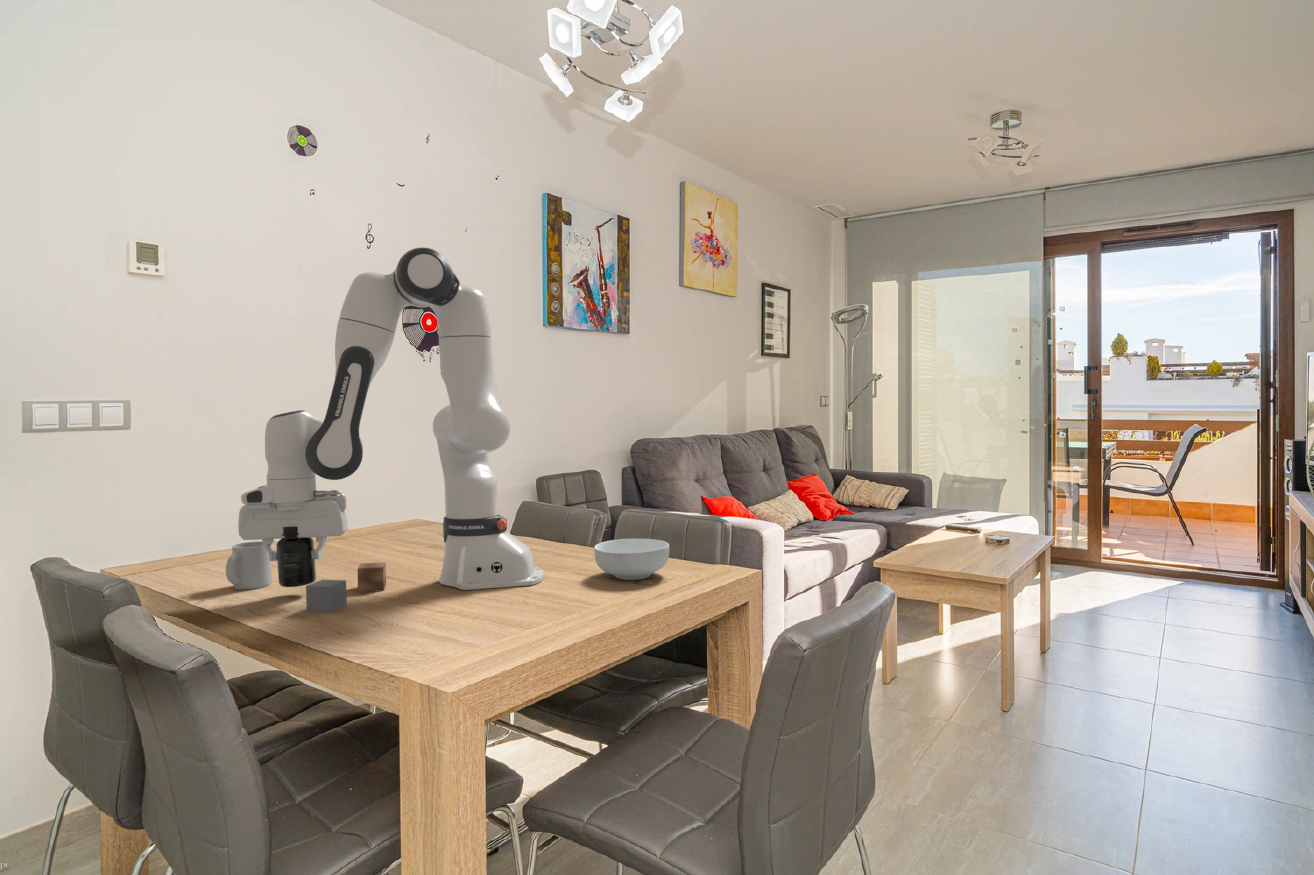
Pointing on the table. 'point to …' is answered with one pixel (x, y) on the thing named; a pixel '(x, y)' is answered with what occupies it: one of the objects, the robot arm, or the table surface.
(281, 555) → the supplement bottle
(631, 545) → the cereal bowl
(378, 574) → the walnut block
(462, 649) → the table surface
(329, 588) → the charcoal block
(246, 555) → the cup
